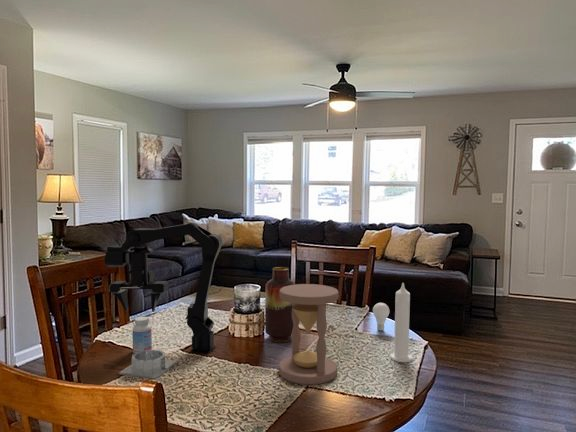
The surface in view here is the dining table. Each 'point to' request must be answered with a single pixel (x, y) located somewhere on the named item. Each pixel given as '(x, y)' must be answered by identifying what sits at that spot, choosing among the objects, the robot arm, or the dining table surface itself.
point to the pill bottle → (142, 335)
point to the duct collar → (148, 364)
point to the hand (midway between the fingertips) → (140, 311)
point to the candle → (401, 326)
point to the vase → (278, 308)
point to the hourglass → (307, 311)
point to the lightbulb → (380, 314)
